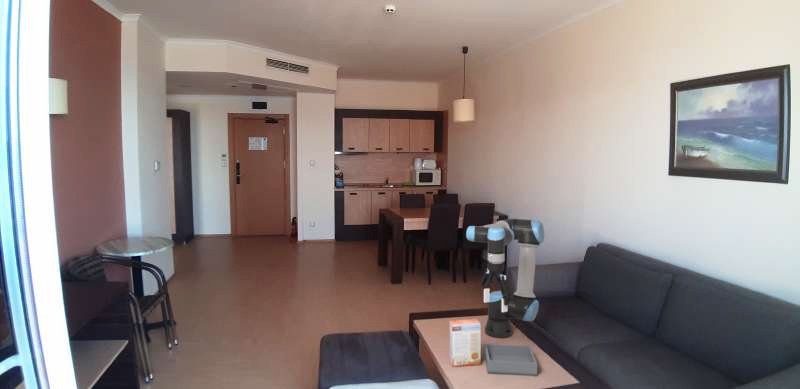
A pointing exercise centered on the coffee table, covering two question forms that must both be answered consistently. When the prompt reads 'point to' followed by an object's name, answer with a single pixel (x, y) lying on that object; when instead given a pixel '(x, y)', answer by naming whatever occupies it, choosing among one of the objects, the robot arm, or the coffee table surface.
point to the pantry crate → (510, 360)
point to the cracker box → (465, 342)
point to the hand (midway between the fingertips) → (495, 306)
